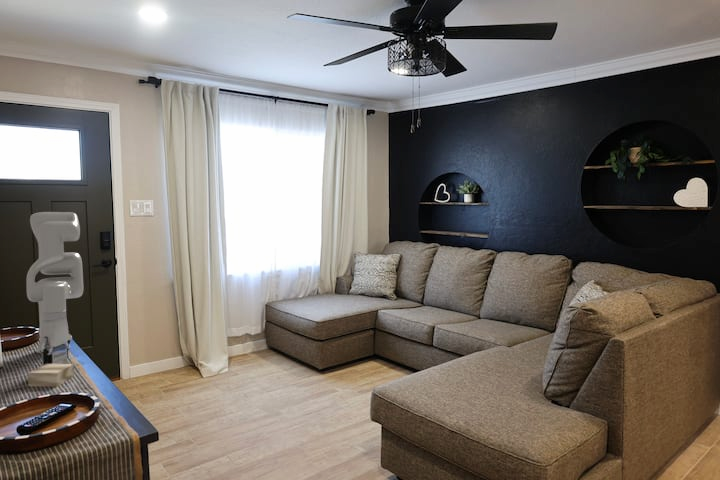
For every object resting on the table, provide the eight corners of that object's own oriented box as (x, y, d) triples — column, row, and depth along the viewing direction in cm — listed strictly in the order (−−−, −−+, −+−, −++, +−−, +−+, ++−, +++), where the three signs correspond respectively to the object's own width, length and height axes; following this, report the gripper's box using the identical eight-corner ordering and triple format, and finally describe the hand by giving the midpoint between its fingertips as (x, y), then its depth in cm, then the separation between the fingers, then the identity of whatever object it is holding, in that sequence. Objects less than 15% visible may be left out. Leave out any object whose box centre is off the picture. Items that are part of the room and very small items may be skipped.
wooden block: (47, 376, 176) (46, 363, 176) (74, 377, 176) (73, 363, 176) (28, 386, 166) (27, 372, 166) (57, 387, 166) (56, 373, 166)
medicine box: (53, 374, 178) (52, 351, 178) (42, 373, 179) (41, 350, 178) (68, 367, 186) (67, 345, 186) (57, 366, 187) (56, 344, 186)
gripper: (61, 311, 190) (62, 355, 191) (28, 320, 173) (29, 368, 174) (79, 312, 190) (80, 355, 191) (47, 321, 173) (49, 368, 173)
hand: (56, 361), depth 182 cm, fingers closed on medicine box, 8 cm apart
